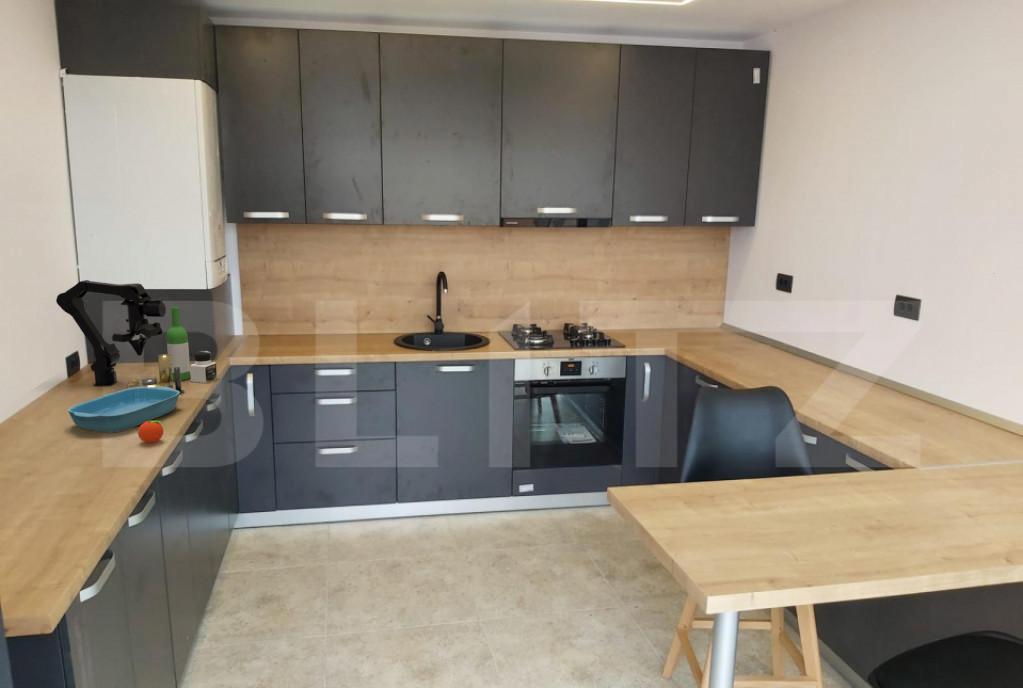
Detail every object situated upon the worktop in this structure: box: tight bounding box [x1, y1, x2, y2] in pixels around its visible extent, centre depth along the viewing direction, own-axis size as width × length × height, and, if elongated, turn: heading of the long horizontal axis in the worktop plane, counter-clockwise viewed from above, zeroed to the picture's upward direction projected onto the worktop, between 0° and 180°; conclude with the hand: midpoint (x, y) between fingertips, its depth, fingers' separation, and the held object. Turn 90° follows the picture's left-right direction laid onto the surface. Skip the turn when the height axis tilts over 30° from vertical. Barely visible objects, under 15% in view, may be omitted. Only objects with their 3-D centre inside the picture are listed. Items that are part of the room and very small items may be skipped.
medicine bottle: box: [190, 350, 218, 384], centre depth 279 cm, size 7×7×12 cm
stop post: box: [174, 367, 185, 395], centre depth 261 cm, size 4×4×10 cm
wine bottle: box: [166, 306, 191, 382], centre depth 278 cm, size 8×8×30 cm
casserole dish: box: [67, 387, 181, 433], centre depth 231 cm, size 37×22×7 cm, turn 167°
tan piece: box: [127, 353, 174, 389], centre depth 256 cm, size 14×15×12 cm
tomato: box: [137, 420, 168, 444], centre depth 211 cm, size 8×7×7 cm
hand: (139, 355), depth 269 cm, fingers closed
